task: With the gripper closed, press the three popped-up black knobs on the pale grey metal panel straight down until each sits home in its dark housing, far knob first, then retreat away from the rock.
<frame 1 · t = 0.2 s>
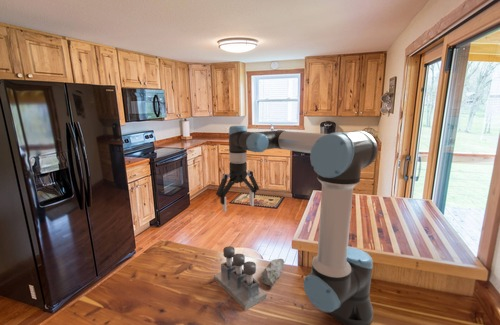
hand: (238, 208, 118), 27 cm above the table, fingers open, 13 cm apart
knob a: (249, 276, 98), point 9 cm above the table, slide at 0.0 cm
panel: (239, 288, 106), on the table
knob b: (238, 267, 104), point 9 cm above the table, slide at 0.0 cm
rock: (272, 277, 113), on the table
knob c: (229, 259, 109), point 9 cm above the table, slide at 0.0 cm
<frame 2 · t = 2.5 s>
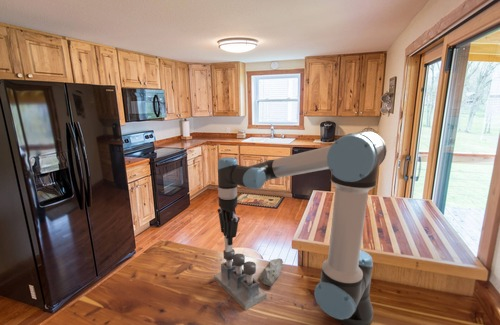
hand: (228, 250, 108), 13 cm above the table, fingers closed
knob c: (229, 261, 109), point 8 cm above the table, slide at 0.9 cm, touching gripper
everything else where it was.
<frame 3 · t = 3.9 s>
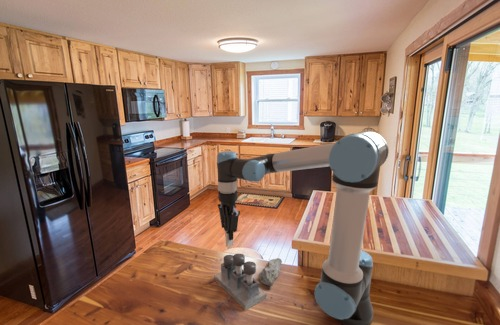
hand: (229, 245, 107), 16 cm above the table, fingers closed
knob c: (229, 268, 110), point 5 cm above the table, slide at 3.9 cm
everything else where it was.
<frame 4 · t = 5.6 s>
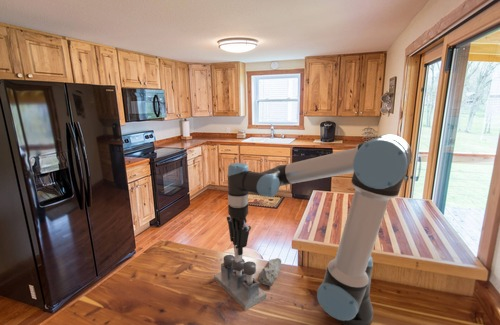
hand: (238, 260, 103), 12 cm above the table, fingers closed
knob b: (238, 272, 104), point 7 cm above the table, slide at 2.0 cm, touching gripper
everything else where it was.
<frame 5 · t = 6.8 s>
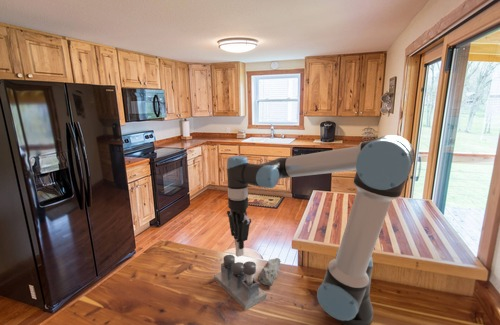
hand: (239, 254, 102), 15 cm above the table, fingers closed
knob b: (238, 276, 104), point 5 cm above the table, slide at 3.9 cm
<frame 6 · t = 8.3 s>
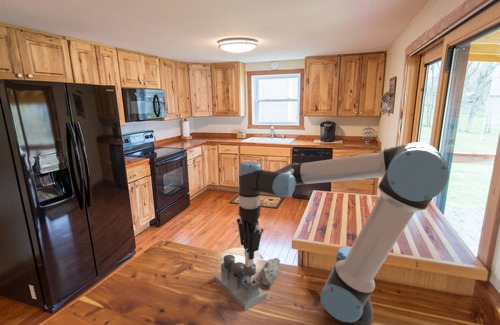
hand: (249, 265, 97), 14 cm above the table, fingers closed
knob a: (249, 277, 98), point 9 cm above the table, slide at 0.4 cm, touching gripper
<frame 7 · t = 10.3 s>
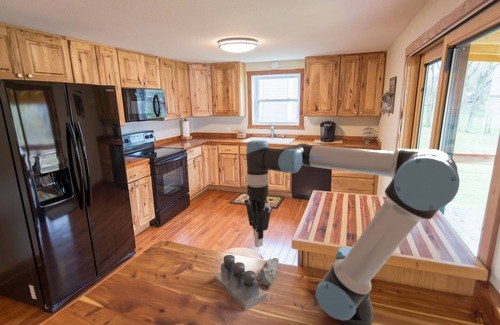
hand: (258, 245, 97), 21 cm above the table, fingers closed
knob a: (249, 285, 99), point 5 cm above the table, slide at 3.9 cm
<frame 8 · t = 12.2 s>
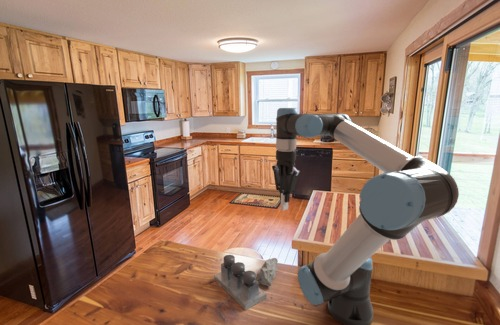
hand: (284, 209, 103), 32 cm above the table, fingers closed
at the end: knob a slide at 3.9 cm; knob b slide at 3.9 cm; knob c slide at 3.9 cm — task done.
